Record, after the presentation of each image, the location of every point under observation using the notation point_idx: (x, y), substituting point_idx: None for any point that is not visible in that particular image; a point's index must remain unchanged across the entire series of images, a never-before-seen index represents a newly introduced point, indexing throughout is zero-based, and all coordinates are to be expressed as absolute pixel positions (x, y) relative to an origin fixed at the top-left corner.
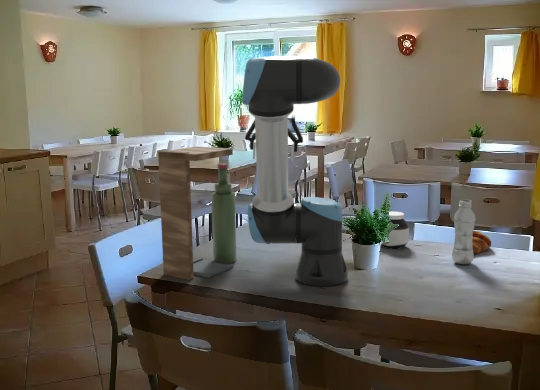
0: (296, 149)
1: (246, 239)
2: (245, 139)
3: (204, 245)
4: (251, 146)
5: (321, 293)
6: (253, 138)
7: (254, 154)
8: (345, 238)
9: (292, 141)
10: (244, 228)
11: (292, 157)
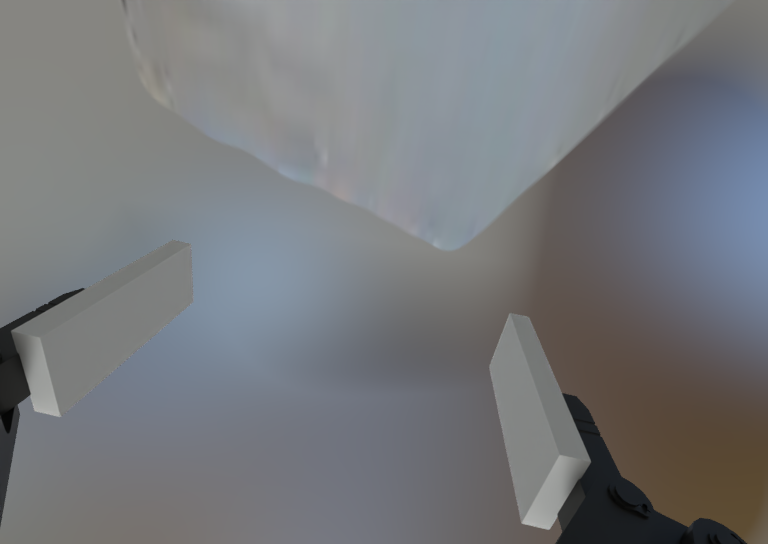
0: (59, 303)
1: (507, 77)
2: (736, 534)
3: (719, 4)
4: (579, 425)
5: None
6: (614, 531)
7: (525, 342)
8: (126, 16)
9: (54, 410)
10: (472, 220)
11: (157, 256)
